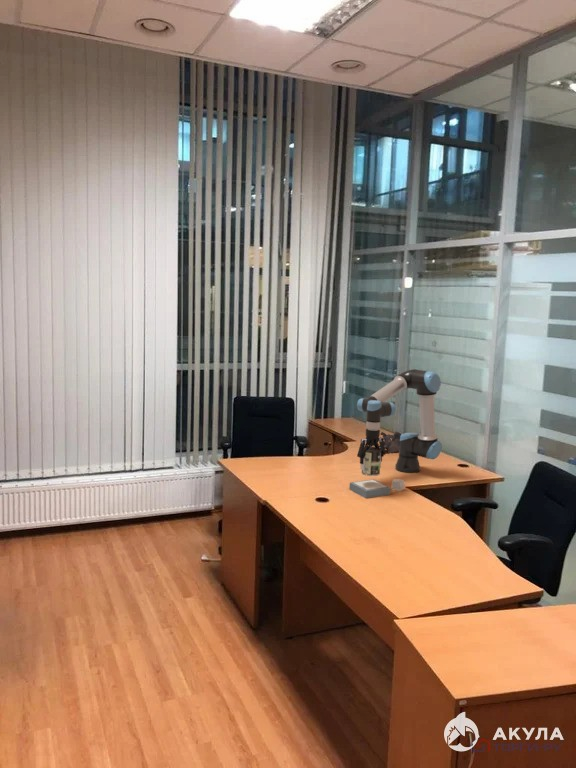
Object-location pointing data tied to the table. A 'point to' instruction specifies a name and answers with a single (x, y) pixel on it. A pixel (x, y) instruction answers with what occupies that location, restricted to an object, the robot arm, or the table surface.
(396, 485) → the block
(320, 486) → the table surface
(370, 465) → the coffee can
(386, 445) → the dark grey lumpy piece
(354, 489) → the plinth
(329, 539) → the table surface
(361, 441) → the robot arm
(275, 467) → the table surface
